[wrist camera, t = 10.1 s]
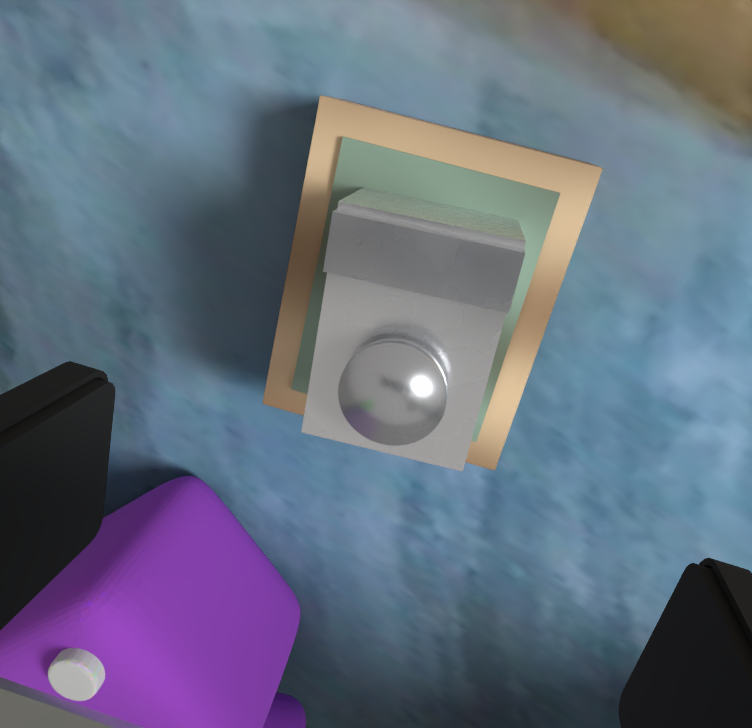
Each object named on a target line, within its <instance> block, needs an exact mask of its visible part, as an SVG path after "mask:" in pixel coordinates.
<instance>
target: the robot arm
mask: <svg viewBox="0 0 752 728" xmlns="http://www.w3.org/2000/svg"><path fill="white" fill-rule="evenodd" d="M114 401H115V387H114V385H113V384H112V383H110V382H108V378H107V375H106V374H105V372H104V371H100V370H97V369H94V368H91V367H87V366H84V365H81V364H78V363H74V362H70V361H69V362H66V363H63V364H61V365H59V366H57V367H55V368H53V369H51V370H49V371H47V372H45V373H43V374H41V375H39V376H37V377H35V378H33V379H31V380H29V381H27V382H25V383H23V384H21V385H19V386H17V387H15V388H13V389H11V390H9V391H7V392H6V393H4V394H2V395H0V630H1V629H2V628H3V627H5V626H6V625H7V624H8V623H9V622H10V621H11V620H12V619H13V618H14V617H15V616H16V615H17V614H18V613H19V612H20V611H21V610H22V609H23V608H24V607H25V606H26V605H27V604H28V603H29V602H30V601H31V600H32V599H33V598H34V597H35V596H36V595H37V594H38V593H39V592H40V591H42V590H43V589H44V588H45V587H46V586H47V585H48V584H49V583H50V582H51V581H52V580H53V579H54V578H55V577H56V576H57V575H58V574H59V573H60V572H61V571H62V570H63V569H64V568H65V567H66V566H67V565H68V564H69V563H70V562H71V561H72V560H73V559H74V558H75V557H76V556H77V555H79V554H80V553H81V552H82V551H83V550H84V549H85V548H86V547H87V546H88V545H89V544H90V543H91V542H92V541H93V539H94V538H95V537H96V535H97V533H98V531H99V529H100V527H101V524H102V519H103V510H104V500H105V490H106V481H107V471H108V461H109V451H110V441H111V431H112V421H113V411H114ZM619 718H620V723H621V728H752V573H751V572H750V571H749V570H746V569H744V568H740V567H737V566H734V565H731V564H727V563H724V562H721V561H718V560H714V559H711V558H706V559H704V560H703V561H702V562H700V564H699V565H698V564H695V563H692V564H689V565H688V566H687V567H686V569H685V570H684V572H683V574H682V576H681V578H680V580H679V582H678V584H677V586H676V588H675V590H674V592H673V594H672V596H671V598H670V600H669V601H668V603H667V605H666V607H665V609H664V611H663V613H662V615H661V617H660V619H659V621H658V623H657V625H656V627H655V629H654V631H653V633H652V635H651V637H650V639H649V641H648V643H647V645H646V646H645V648H644V650H643V652H642V654H641V656H640V658H639V660H638V662H637V664H636V666H635V668H634V670H633V672H632V674H631V676H630V678H629V680H628V682H627V684H626V686H625V688H624V689H623V692H622V694H621V698H620V704H619ZM0 728H144V727H141V726H138V725H135V724H133V723H130V722H127V721H124V720H121V719H118V718H116V717H113V716H110V715H107V714H104V713H101V712H99V711H96V710H93V709H90V708H87V707H84V706H82V705H79V704H76V703H73V702H70V701H67V700H64V699H62V698H59V697H56V696H53V695H50V694H47V693H45V692H42V691H39V690H36V689H33V688H30V687H28V686H25V685H22V684H19V683H16V682H13V681H11V680H8V679H5V678H2V677H0Z"/></svg>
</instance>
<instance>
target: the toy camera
mask: <svg viewBox="0 0 752 728" xmlns="http://www.w3.org/2000/svg"><path fill="white" fill-rule="evenodd" d="M300 613H301V611H300V606H299V602H298V600H297V598H296V596H295V594H294V593H293V591H292V590H291V588H290V587H289V585H288V584H287V583H286V581H285V580H284V579H283V578H282V576H281V575H280V574H279V572H278V571H277V570H276V568H275V567H274V566H273V564H272V563H271V562H270V561H269V559H268V558H267V557H266V555H265V554H264V553H263V552H262V550H261V549H260V548H259V547H258V545H257V544H256V543H255V542H254V540H253V539H252V538H251V537H250V535H249V534H248V533H247V531H246V530H245V529H244V528H243V526H242V525H241V524H240V523H239V521H238V520H237V519H236V518H235V516H234V515H233V514H232V513H231V511H230V510H229V509H228V508H227V506H226V505H225V504H224V503H223V502H222V500H221V499H220V498H219V497H218V496H217V494H216V493H215V492H214V491H213V490H212V489H211V488H210V487H209V486H208V485H207V484H206V483H205V482H203V481H202V480H201V479H199V478H197V477H194V476H183V477H179V478H176V479H173V480H170V481H168V482H166V483H164V484H162V485H160V486H158V487H156V488H154V489H153V490H151V491H149V492H147V493H145V494H144V495H142V496H140V497H139V498H137V499H135V500H133V501H132V502H130V503H128V504H127V505H125V506H123V507H122V508H120V509H118V510H116V511H115V512H113V513H111V514H110V515H108V516H106V517H105V518H103V519H102V524H101V527H100V529H99V531H98V533H97V535H96V537H95V538H94V539H93V541H92V542H91V543H90V544H89V545H88V546H87V547H86V548H85V549H84V550H83V551H82V552H81V553H80V554H79V555H77V556H76V557H75V558H74V559H73V560H72V561H71V562H70V563H69V564H68V565H67V566H66V567H65V568H64V569H63V570H62V571H61V572H60V573H59V574H58V575H57V576H56V577H55V578H54V579H53V580H52V581H51V582H50V583H49V584H48V585H47V586H46V587H45V588H44V589H43V590H42V591H40V592H39V593H38V594H37V595H36V596H35V597H34V598H33V599H32V600H31V601H30V602H29V603H28V604H27V605H26V606H25V607H24V608H23V609H22V610H21V611H20V612H19V613H18V614H17V615H16V616H15V617H14V618H13V619H12V620H11V621H10V622H9V623H8V624H7V625H6V626H5V627H3V628H2V629H1V630H0V677H2V678H5V679H8V680H11V681H13V682H16V683H19V684H22V685H25V686H28V687H30V688H33V689H36V690H39V691H42V692H45V693H47V694H50V695H53V696H56V697H59V698H62V699H64V700H67V701H70V702H73V703H76V704H79V705H82V706H84V707H87V708H90V709H93V710H96V711H99V712H101V713H104V714H107V715H110V716H113V717H116V718H118V719H121V720H124V721H127V722H130V723H133V724H135V725H138V726H141V727H144V728H305V727H306V715H305V711H304V708H303V706H302V705H301V703H300V702H299V701H298V700H297V699H295V698H294V697H292V696H290V695H287V694H283V693H278V692H277V689H278V686H279V683H280V681H281V678H282V675H283V672H284V670H285V667H286V664H287V661H288V658H289V655H290V652H291V649H292V646H293V643H294V640H295V637H296V634H297V630H298V626H299V622H300Z"/></svg>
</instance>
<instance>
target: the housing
mask: <svg viewBox="0 0 752 728" xmlns="http://www.w3.org/2000/svg"><path fill="white" fill-rule="evenodd" d="M525 243H526V240H525V237H524V234H523V232H522V229H521V226H520V224H519V221H518V220H517V219H512V218H508V217H503V216H498V215H494V214H489V213H484V212H479V211H475V210H470V209H465V208H461V207H456V206H451V205H446V204H442V203H437V202H432V201H428V200H423V199H418V198H413V197H409V196H404V195H399V194H394V193H390V192H385V191H380V190H376V189H371V188H366V187H364V188H362V189H360V190H358V191H356V192H354V193H353V194H351V195H349V196H347V197H345V198H343V199H341V200H340V201H339V202H338V208H337V209H336V210H334V211H332V218H331V224H330V230H329V237H328V243H327V249H326V256H325V262H324V268H323V272H327V276H326V282H325V289H324V295H323V301H322V307H321V313H320V320H319V326H318V332H317V338H316V345H315V351H314V357H313V363H312V369H311V376H310V382H309V388H308V394H307V400H306V407H305V413H304V419H303V425H302V432H303V433H307V434H311V435H315V436H319V437H323V438H327V439H331V440H335V441H340V442H344V443H348V444H352V445H356V446H360V447H364V448H368V449H372V450H377V451H381V452H385V453H389V454H393V455H397V456H401V457H405V458H409V459H413V460H418V461H422V462H426V463H430V464H434V465H438V466H442V467H446V468H450V469H454V470H459V471H463V469H464V465H465V461H466V458H467V454H468V450H469V447H470V443H471V440H472V436H473V432H474V429H475V425H476V421H477V418H478V414H479V410H480V407H481V403H482V400H483V396H484V392H485V389H486V385H487V381H488V378H489V374H490V371H491V367H492V363H493V360H494V356H495V352H496V349H497V345H498V341H499V338H500V334H501V331H502V327H503V323H504V320H505V316H506V313H509V311H510V307H511V303H512V300H513V296H514V293H515V289H516V285H517V282H518V278H519V275H520V271H521V267H522V264H523V260H524V257H525V250H524V247H525Z"/></svg>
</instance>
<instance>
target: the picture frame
mask: <svg viewBox="0 0 752 728" xmlns="http://www.w3.org/2000/svg"><path fill="white" fill-rule="evenodd" d="M602 170H603V168H601V167H598V166H595V165H593V164H590V163H587V162H583V161H579V160H575V159H572V158H568V157H564V156H560V155H556V154H552V153H548V152H544V151H540V150H537V149H533V148H529V147H525V146H521V145H517V144H513V143H509V142H505V141H502V140H498V139H494V138H490V137H486V136H482V135H478V134H474V133H471V132H467V131H463V130H459V129H455V128H451V127H447V126H443V125H439V124H436V123H432V122H428V121H424V120H420V119H416V118H412V117H408V116H404V115H401V114H397V113H393V112H389V111H385V110H381V109H377V108H373V107H370V106H366V105H362V104H358V103H354V102H350V101H346V100H342V99H338V98H332V97H326V96H320V100H319V105H318V110H317V116H316V121H315V126H314V132H313V137H312V142H311V148H310V153H309V158H308V164H307V169H306V174H305V180H304V185H303V190H302V196H301V201H300V206H299V212H298V217H297V222H296V228H295V233H294V238H293V244H292V249H291V254H290V260H289V265H288V270H287V276H286V281H285V286H284V292H283V297H282V302H281V308H280V313H279V318H278V324H277V329H276V334H275V340H274V345H273V350H272V356H271V361H270V366H269V372H268V377H267V382H266V388H265V393H264V398H263V404H266V405H269V406H273V407H276V408H280V409H283V410H286V411H290V412H293V413H297V414H300V415H304V413H305V407H306V400H307V394H308V388H309V382H310V376H311V369H312V363H313V357H314V351H315V345H316V338H317V332H318V326H319V320H320V313H321V307H322V301H323V295H324V289H325V282H326V276H327V272H323V268H324V262H325V256H326V249H327V243H328V237H329V230H330V224H331V218H332V211H334V210H336V209H337V208H338V202H339V201H340V200H341V199H343V198H345V197H347V196H349V195H351V194H353V193H354V192H356V191H358V190H360V189H362V188H364V187H366V188H371V189H376V190H380V191H385V192H390V193H394V194H399V195H404V196H409V197H413V198H418V199H423V200H428V201H432V202H437V203H442V204H446V205H451V206H456V207H461V208H465V209H470V210H475V211H479V212H484V213H489V214H494V215H498V216H503V217H508V218H512V219H517V220H518V221H519V224H520V226H521V229H522V232H523V234H524V237H525V240H526V243H525V247H524V250H525V257H524V260H523V264H522V267H521V271H520V275H519V278H518V282H517V285H516V289H515V293H514V296H513V300H512V303H511V307H510V311H509V313H506V316H505V320H504V323H503V327H502V331H501V334H500V338H499V341H498V345H497V349H496V352H495V356H494V360H493V363H492V367H491V371H490V374H489V378H488V381H487V385H486V389H485V392H484V396H483V400H482V403H481V407H480V410H479V414H478V418H477V421H476V425H475V429H474V432H473V436H472V440H471V443H470V447H469V450H468V454H467V458H466V461H465V462H467V463H470V464H474V465H477V466H481V467H484V468H488V469H491V470H495V468H496V466H497V463H498V460H499V457H500V454H501V452H502V449H503V446H504V443H505V440H506V438H507V435H508V432H509V429H510V427H511V424H512V421H513V418H514V415H515V413H516V410H517V407H518V404H519V401H520V399H521V396H522V393H523V390H524V387H525V385H526V382H527V379H528V376H529V373H530V371H531V368H532V365H533V362H534V359H535V357H536V354H537V351H538V348H539V346H540V343H541V340H542V337H543V334H544V332H545V329H546V326H547V323H548V320H549V318H550V315H551V312H552V309H553V306H554V304H555V301H556V298H557V295H558V292H559V290H560V287H561V284H562V281H563V279H564V276H565V273H566V270H567V267H568V265H569V262H570V259H571V256H572V253H573V251H574V248H575V245H576V242H577V239H578V237H579V234H580V231H581V228H582V225H583V223H584V220H585V217H586V214H587V211H588V209H589V206H590V203H591V200H592V198H593V195H594V192H595V189H596V186H597V184H598V181H599V178H600V175H601V172H602Z"/></svg>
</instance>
